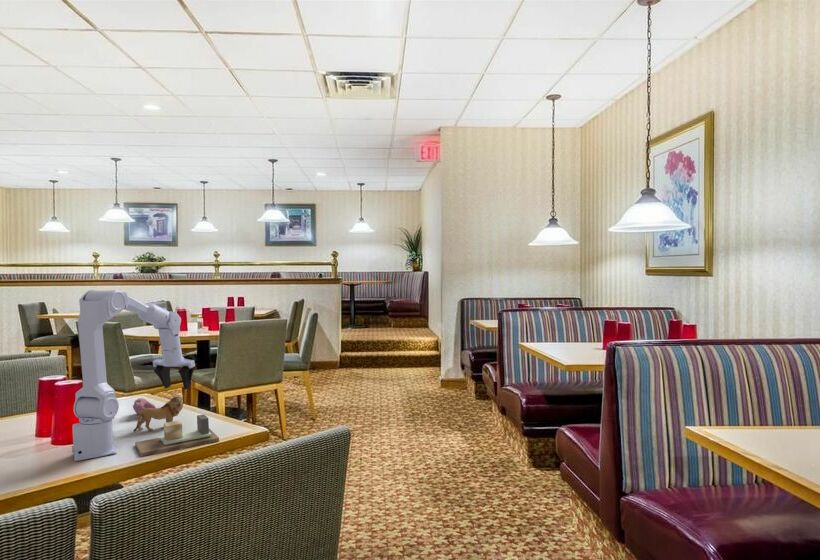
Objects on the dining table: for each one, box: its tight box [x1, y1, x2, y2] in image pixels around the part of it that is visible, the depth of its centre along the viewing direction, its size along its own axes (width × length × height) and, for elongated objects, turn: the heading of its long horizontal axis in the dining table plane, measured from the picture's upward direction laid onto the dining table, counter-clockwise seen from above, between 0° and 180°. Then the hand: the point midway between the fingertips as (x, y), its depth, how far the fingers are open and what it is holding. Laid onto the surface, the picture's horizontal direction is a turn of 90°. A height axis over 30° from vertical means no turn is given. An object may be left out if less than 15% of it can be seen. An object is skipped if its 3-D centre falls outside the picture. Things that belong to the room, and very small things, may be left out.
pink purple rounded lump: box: [132, 397, 157, 418], centre depth 181 cm, size 10×5×7 cm, turn 17°
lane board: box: [134, 428, 220, 458], centre depth 151 cm, size 20×11×1 cm, turn 124°
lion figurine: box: [132, 395, 184, 432], centre depth 166 cm, size 15×5×9 cm, turn 129°
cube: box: [163, 420, 183, 441], centre depth 150 cm, size 4×4×4 cm
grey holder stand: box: [159, 414, 212, 445], centre depth 152 cm, size 12×7×5 cm, turn 124°
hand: (177, 387), depth 174 cm, fingers open, 7 cm apart
